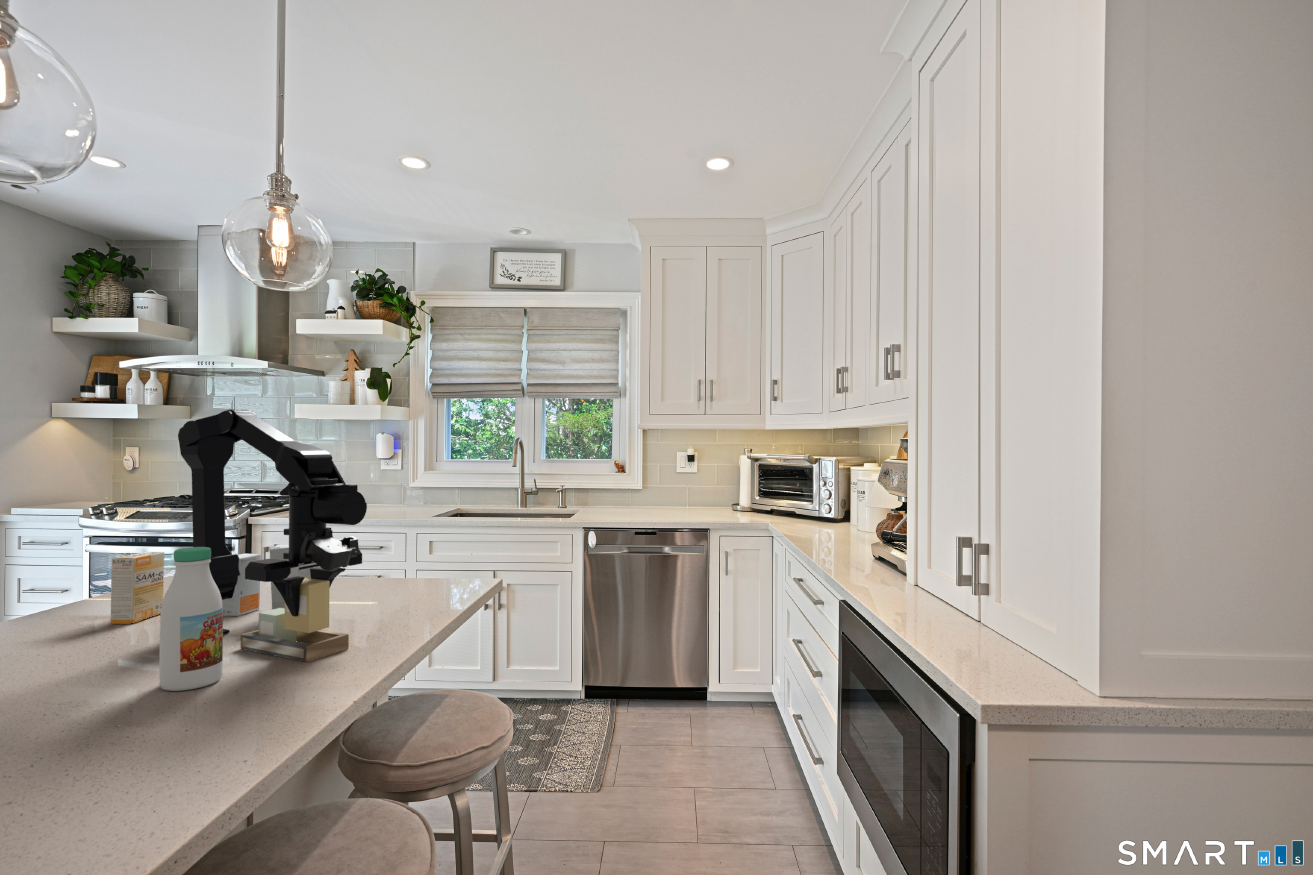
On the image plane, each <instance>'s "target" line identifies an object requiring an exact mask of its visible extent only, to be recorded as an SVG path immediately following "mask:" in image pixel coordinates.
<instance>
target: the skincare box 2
mask: <svg viewBox="0 0 1313 875" xmlns="http://www.w3.org/2000/svg"><path fill="white" fill-rule="evenodd" d="M287 552H289V543H283V544H282V543H281V544H277V545H275V546H273V547H272V548H270V549H269V559H277V560H286V561H289V559H283V553H287ZM298 565H300V564H298ZM312 568H315V567H312ZM299 577H305V578H311V575H310V568H307V569H302V570H299ZM270 590H271V592H270V593H271V595H270V596H271V610H273V609H277V608H284V609H285V601H284V599H283V597H282V596H281V594H280V592H279V591H278V589H277V588H276V586H275V585H274V583H273V582H270Z"/></svg>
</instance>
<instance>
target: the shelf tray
mask: <svg viewBox="0 0 1313 875" xmlns="http://www.w3.org/2000/svg"><path fill="white" fill-rule="evenodd" d="M349 635H350V634H349V633H344V632H339V631H332V630H331V631H330V630H325V629H321V630H318V631H314V632H311V633H305V632H300V631H296V641H297V642H296V641H290V640H285V639H279V638H274V637H268V636H263V635H259V629H256V630H253V631H248V632H244V633H241V634H240V648H241V649H240V650H244V649H246V650H245V651H250V652H254V651H256V652H255V653H259V652H260V653H259V654H264V653H265V655H269V654H270V655H271V656H274V655H275V657H280V658H284V657H286V659H290V660H295V661H300V662H304V663H310V662H312V661H317V660H320V659H322V658H324V657H325V658H326V657H327V656H331V655H334V654H337V653H339V652H342V651H345V650H348V649H349V646H350V645H349V641H350V640H349V638H350V637H349ZM301 642H302V643H301Z"/></svg>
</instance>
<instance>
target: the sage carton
mask: <svg viewBox="0 0 1313 875" xmlns="http://www.w3.org/2000/svg"><path fill="white" fill-rule="evenodd" d="M284 613H285V609H284V608H277V609H273V610H272V609H269V610H265V611H260V612H258V630H259V635H263V636H268V637H274V638H279V639H285V640H290V641H296V631H294V630H288V629H284Z"/></svg>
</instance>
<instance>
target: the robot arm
mask: <svg viewBox="0 0 1313 875" xmlns="http://www.w3.org/2000/svg"><path fill="white" fill-rule="evenodd" d="M177 440H178V445H179V451H180V456H181V457H182V458H183V460H184V461H185V463H186V464H187V466H189V468H190V470H191V502H192V503H191V505H192V508H191V510H192V513H191V514H192V547H209V548H211V558H210V559H211V562H210V563H209V569H210V572H211V575H212V578H213V580H214V582H215V583H216V585H217V587H218V589H219V591H220V594H221V598H222V600H224V599H230V598H232V597H233V593H234V590H235V586H236V584H237V581H238V576H240V572H239V557H238V555H239V554H237V553H234V554H233V553H232V552H231V551H230V550H229V548H228V547H227V545H226V513H225V512H226V511H225V507H226V506H225V505H226V504H225V501H226V500H225V467H226V465H227V464H228V462H229V461H230V460H231V458H232V456H233V455H234V449H235V444H237V443H238V442H240V441H242V442H244V443H246V444H248V445H249V446H250V447H253V448H254V449H255V450H257V451H258V452H260V453H262V454H263V455H264V456H266V457H267V458H269V459H270V460H271V461H272V462H274V466H275V467H274V468H275V470H276V472H278V474H279V475H281V477H282V478H283V479H285V481H287V482H288V484H287V486H285V487H284V488H282V490H280V491H279V495H280V496H282V497H283V496H285V497H286V496H287V497H288V498H289V499H288V500H289V501H288V503H289V504H288V528H283V535H284V536H288V544H289V552H287V553H283V559H289V561H286V560H277V559H270V558H265V559H261V560H257V561H251V562H249V564H248V565H247V566H246V568H245V579H248V580H255V581H260V582H263V583H269V582H270V583H271V582H273V583H274V585H275V586H276V588H277V589H278V591H279V592H280V594H281V596H282V597H283V599H284V601H285V603H286V605H287V607H288V609H289V611H290V613H291V615H292V616H295V617H297V616H298V614H299V599H300V585H301V583H302V582H303V580H304V578H305V577H299V570H302V569H307V568H310V575H311V579H319V580H327V581H330V587H331V585H332V584H333V582H334V580H335V578H337V577H338V576H339V575H340V574H341V573H344V572H345V571H346V569H347V568H348V567H349V566H350V567H351V566H357V565H362V564H363V553H362V552H361V550H360V549H359V548H360V547H359V538H357V537H355V536H353V535H351V536H344V537H343V538H338V539H336V538H334V535H333V532H334V531H333V530H332V527H327V524H329V525H345V526H355V525H358V524H360V523H361V522H362V521H363V520H364V518H365V516H366V514H367V510H368V504H367V502H366V498H365V497H364V495H362V493H361V492H359V491H358V490H359V489H358V487H359V486H358V484H356V483H355V484H354V483H353V484H352V483H351V484H348V483H347V484H346V482H345V480H344V478H343V477H342V474H341V473H340V471H339V469H338V468H337V466H336V464H335V462H334V461H333V456H332V455H331V453H330V452H329V451H327V450H325V449H323V448H320V447H317V446H315V445H311V444H306V443H301V442H299V441H296V440H294V439H293V438H291V437H289V436H288V435H286V434H285V433H283V432H281V431H280V430H278V429H277V428H276V427H274V426H272V425H271V424H270V423H268V422H266V421H264V420H263V419H261V418H260V417H258V416H257V414H256V413H255V412H254V411H251V410H248V409H232V408H230V409H229V408H228V409H227V410H223V411H221V412H220V413H218V414H214V415H210V416H206V417H202V418H198V419H194V420H188V421H186V422H185V423H184V424H183V426H182V427H180V428H179V429H178V433H177ZM298 564H300V565H298ZM312 567H315V568H312ZM229 633H230V629H226V628H223V635H226V634H229Z"/></svg>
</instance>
